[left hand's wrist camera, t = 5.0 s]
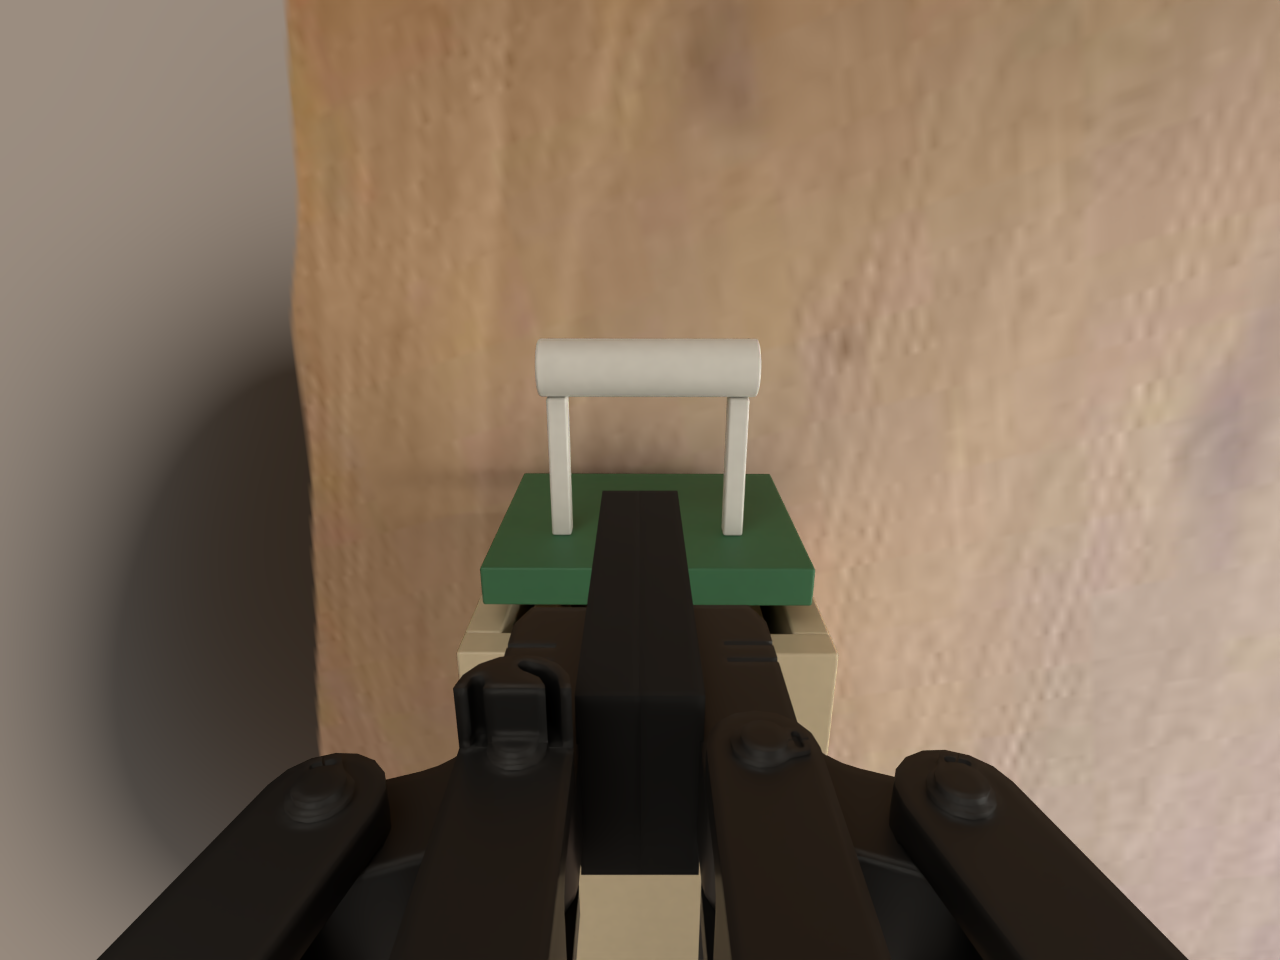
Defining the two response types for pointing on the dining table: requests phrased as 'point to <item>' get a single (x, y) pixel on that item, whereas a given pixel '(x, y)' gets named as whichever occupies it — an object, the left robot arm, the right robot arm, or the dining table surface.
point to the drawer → (649, 483)
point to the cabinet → (670, 904)
